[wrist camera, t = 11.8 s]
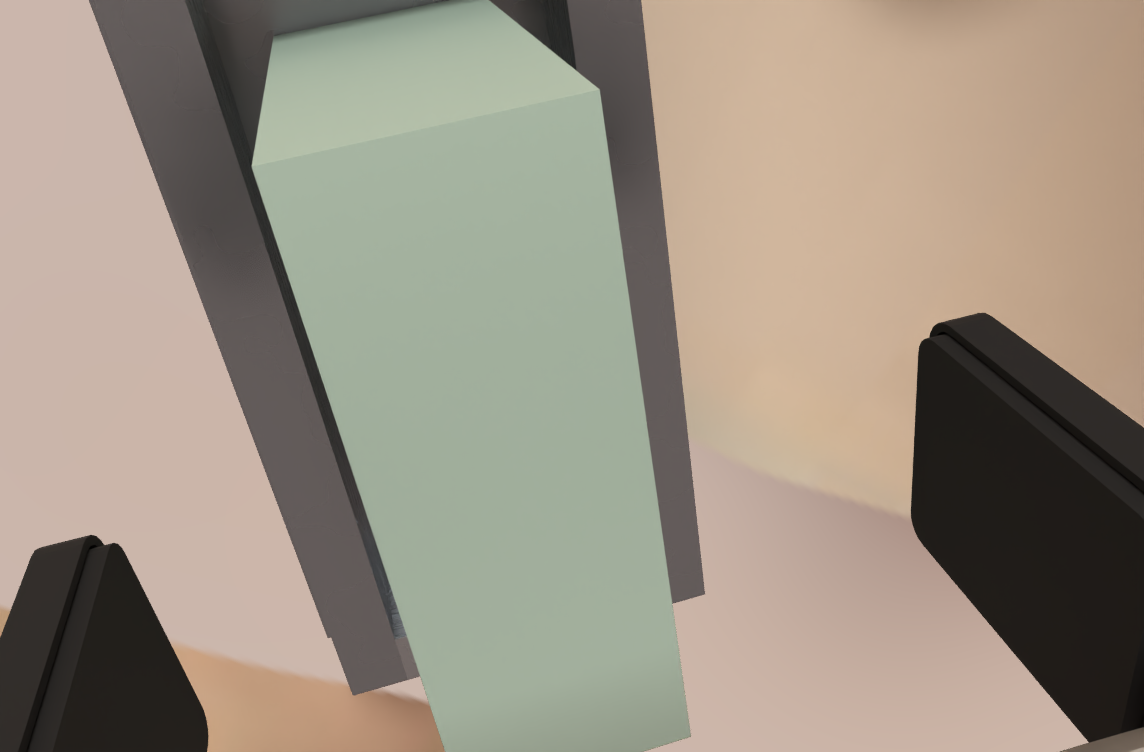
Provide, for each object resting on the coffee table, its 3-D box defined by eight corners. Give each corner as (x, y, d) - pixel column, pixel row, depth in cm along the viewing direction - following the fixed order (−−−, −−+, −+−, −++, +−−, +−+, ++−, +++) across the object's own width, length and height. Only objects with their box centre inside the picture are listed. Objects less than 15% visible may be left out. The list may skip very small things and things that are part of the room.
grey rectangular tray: (53, -133, 16) (4, -130, 13) (595, -224, 17) (649, -238, 14) (327, 609, 24) (329, 702, 21) (681, 511, 25) (725, 588, 22)
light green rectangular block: (274, 35, 17) (251, 166, 10) (480, -7, 17) (599, 89, 10) (413, 503, 22) (463, 807, 15) (570, 460, 22) (690, 737, 15)
